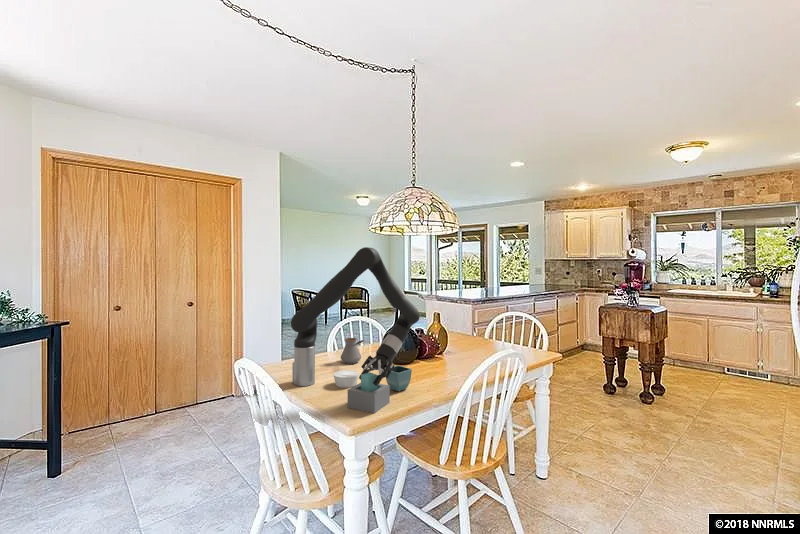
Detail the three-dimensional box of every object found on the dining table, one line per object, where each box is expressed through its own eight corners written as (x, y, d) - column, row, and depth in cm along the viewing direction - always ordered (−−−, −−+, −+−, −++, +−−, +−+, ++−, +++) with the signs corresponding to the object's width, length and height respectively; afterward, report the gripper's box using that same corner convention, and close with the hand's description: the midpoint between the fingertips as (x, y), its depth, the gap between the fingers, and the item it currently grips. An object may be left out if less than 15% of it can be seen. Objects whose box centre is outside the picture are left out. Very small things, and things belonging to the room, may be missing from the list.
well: (347, 407, 150) (347, 389, 150) (363, 397, 161) (363, 381, 161) (374, 413, 145) (374, 394, 145) (389, 402, 156) (389, 385, 156)
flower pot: (384, 389, 172) (384, 368, 172) (398, 384, 178) (398, 365, 178) (397, 394, 166) (398, 373, 166) (412, 389, 172) (412, 369, 172)
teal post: (360, 402, 153) (360, 374, 153) (369, 399, 157) (369, 372, 156) (368, 405, 150) (368, 377, 150) (377, 402, 153) (377, 374, 153)
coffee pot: (337, 361, 219) (337, 334, 218) (355, 358, 225) (355, 332, 224) (353, 370, 200) (353, 341, 200) (373, 367, 207) (373, 339, 206)
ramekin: (334, 389, 171) (334, 377, 171) (332, 382, 182) (332, 370, 182) (360, 387, 174) (360, 376, 174) (356, 380, 185) (356, 369, 185)
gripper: (373, 340, 163) (351, 372, 156) (396, 345, 153) (374, 381, 146) (382, 350, 167) (361, 383, 160) (406, 356, 157) (384, 391, 149)
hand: (367, 382), depth 153 cm, fingers open, 8 cm apart
